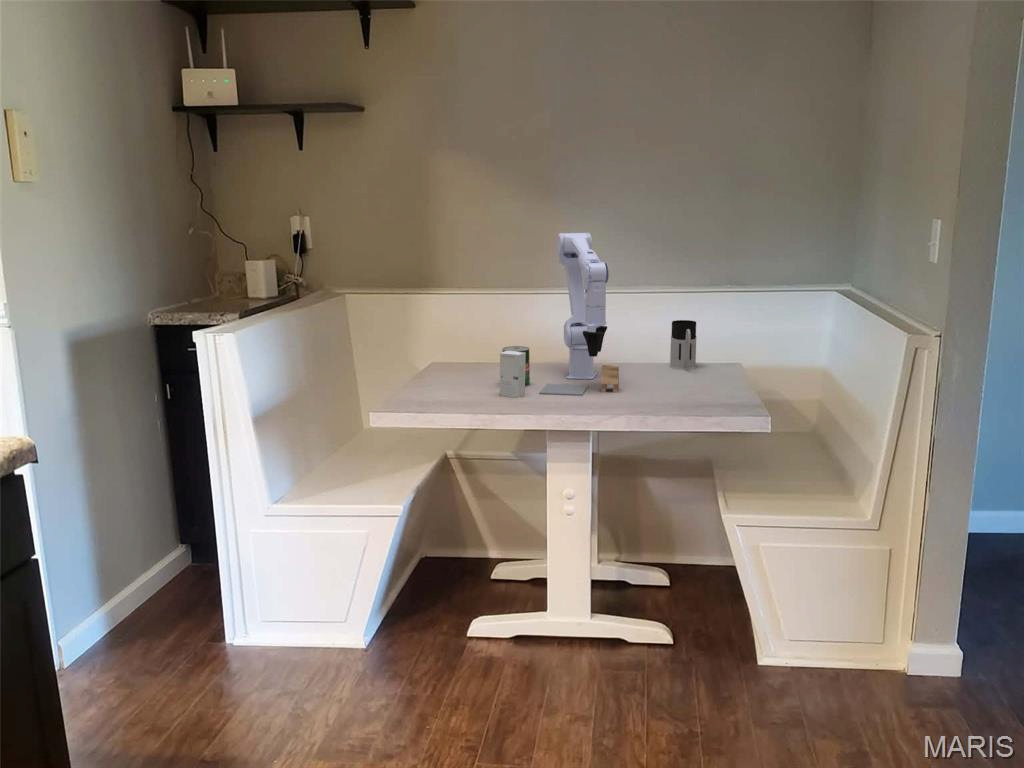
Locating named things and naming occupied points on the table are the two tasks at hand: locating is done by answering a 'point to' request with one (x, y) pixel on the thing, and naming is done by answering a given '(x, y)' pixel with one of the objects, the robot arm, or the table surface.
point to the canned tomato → (526, 350)
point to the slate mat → (564, 389)
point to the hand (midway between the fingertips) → (595, 353)
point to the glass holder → (683, 345)
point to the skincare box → (512, 373)
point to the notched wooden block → (610, 377)
